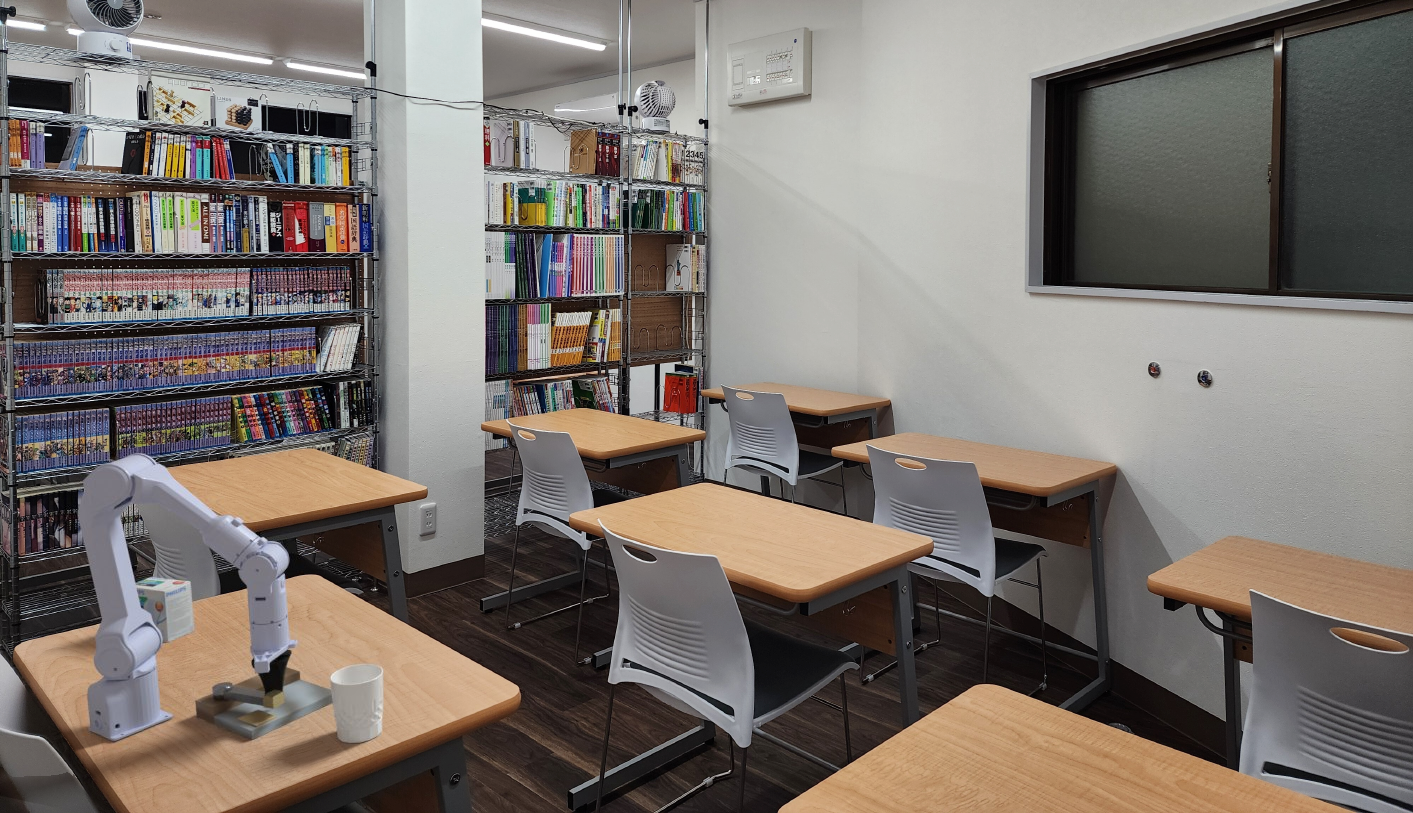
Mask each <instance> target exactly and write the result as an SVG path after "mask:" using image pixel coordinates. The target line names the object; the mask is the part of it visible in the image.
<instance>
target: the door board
mask: <svg viewBox="0 0 1413 813" xmlns="http://www.w3.org/2000/svg"><path fill="white" fill-rule="evenodd" d="M233 686H235V687H241V688H247V689H253V690H259V691H265V689H264V686H263V683H262V681H261V678H260V676H259V675H258V674H257V675H255V676H253V677H250V678H247V679H245V680H242V681H239V682H238V683H235V684H233ZM283 691H284V701H285V703H283V704H281V705H280V706H278V707H276V708H275V709H270V708H265V707H264V706H260V705H255V704H249V703H243V702H237V701H231V700H214V699H213V692H212V693H209V694H207V695H205V696H203V697H201V698H198V699H196V700H195V701H194V702H195V713H196V718H197V719H199V720H201V721H204V722H207V723H209V724H212V725H215V726H217V727H220V728H222V729H225V730H228V731H229V732H232V733H233V734H234V733H235V734H237V735H240V736H242V737H245V738H247V739H249V740H252V741H253V740H255V739H257V738H259V737H261V736H264V735H265V734H268V733H270V732H273V731H275V730H277V729H279V728H281V727H284V726H285V725H288V724H289V723H292V722H294V721H297V720H298V719H301V718H303V717H305V716H307V715H309V714H311V713H314V712H316V711H318V710H319V709H322V708H325V707H327V706H329V705H331V704H333V701H332V692H331V688H327V687H324V686H322V685H317V684H315V683H312V682H310V681H306V680H303V679H301V671H299V670H296V669H293V668H290V667H288V666H287V667H286V671H285V677H284V685H283Z"/></svg>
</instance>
